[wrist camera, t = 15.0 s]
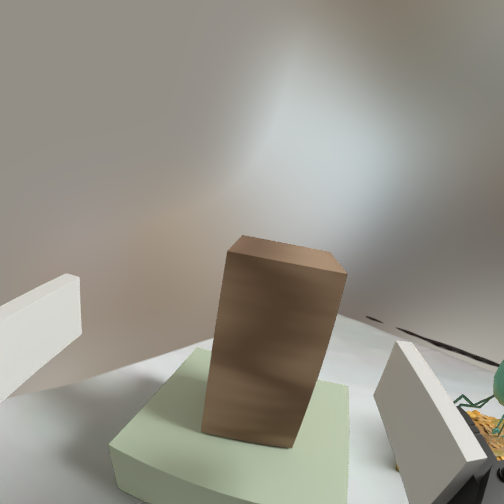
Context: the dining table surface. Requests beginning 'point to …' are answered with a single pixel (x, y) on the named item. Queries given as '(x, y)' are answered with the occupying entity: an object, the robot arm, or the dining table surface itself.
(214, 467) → the sage block
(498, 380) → the green insect figurine
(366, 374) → the dining table surface
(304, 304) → the walnut block
